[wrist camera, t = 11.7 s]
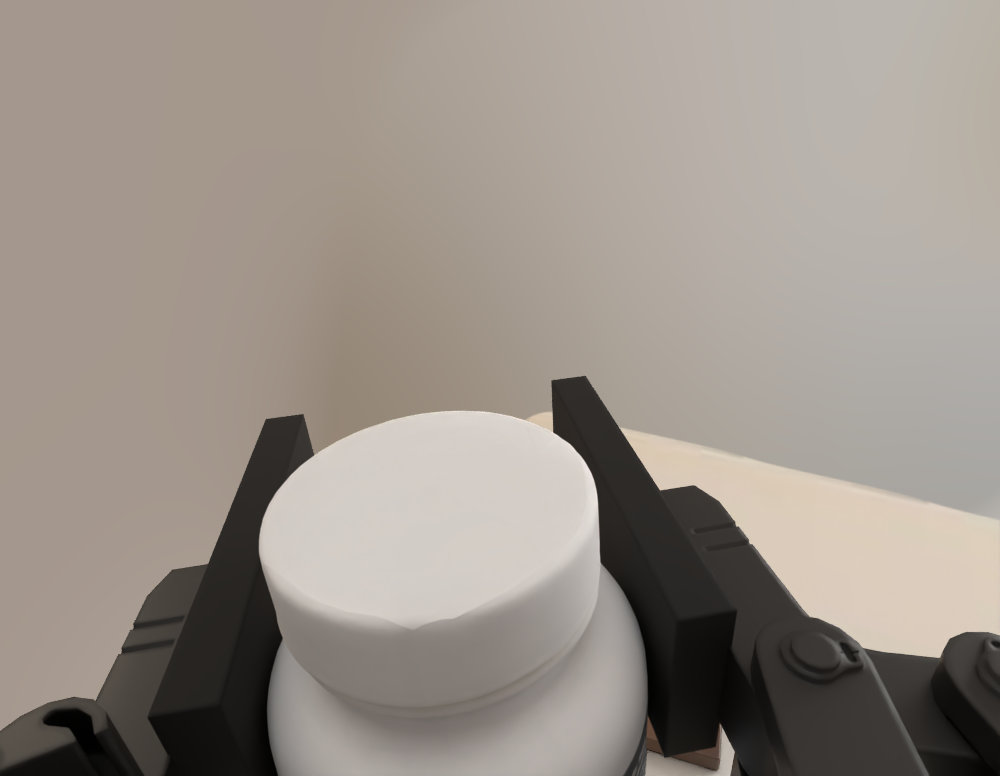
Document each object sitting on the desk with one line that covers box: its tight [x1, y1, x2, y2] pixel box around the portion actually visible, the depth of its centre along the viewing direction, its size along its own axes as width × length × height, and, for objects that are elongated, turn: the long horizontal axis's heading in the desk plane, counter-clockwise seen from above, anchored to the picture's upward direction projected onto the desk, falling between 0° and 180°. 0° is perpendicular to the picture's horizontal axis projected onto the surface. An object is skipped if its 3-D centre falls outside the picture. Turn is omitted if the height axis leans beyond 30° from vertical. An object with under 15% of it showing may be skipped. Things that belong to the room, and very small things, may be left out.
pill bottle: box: [259, 411, 648, 776], centre depth 9 cm, size 5×5×9 cm
